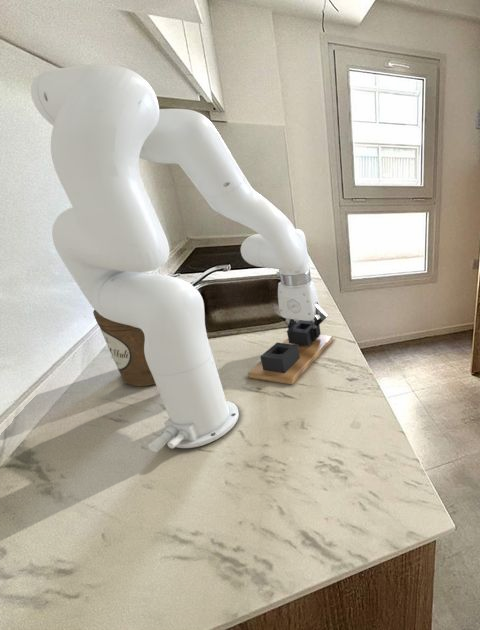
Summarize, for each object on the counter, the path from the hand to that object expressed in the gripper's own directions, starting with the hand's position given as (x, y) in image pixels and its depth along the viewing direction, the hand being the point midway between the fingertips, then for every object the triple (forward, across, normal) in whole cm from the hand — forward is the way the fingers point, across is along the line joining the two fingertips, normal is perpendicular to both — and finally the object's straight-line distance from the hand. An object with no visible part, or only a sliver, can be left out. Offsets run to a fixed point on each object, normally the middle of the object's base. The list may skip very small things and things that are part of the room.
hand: (304, 336), depth 94 cm
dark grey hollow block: (+1, 0, 0) cm, 1 cm away
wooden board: (+3, 0, -6) cm, 7 cm away
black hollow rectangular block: (+1, 0, -12) cm, 12 cm away
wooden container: (+3, -30, -19) cm, 36 cm away
